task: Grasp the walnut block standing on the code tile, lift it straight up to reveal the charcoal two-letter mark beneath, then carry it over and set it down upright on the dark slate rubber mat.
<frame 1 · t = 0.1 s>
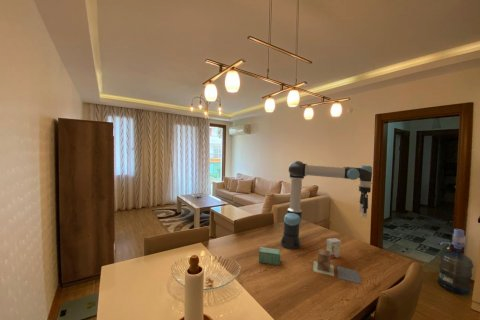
hand: (362, 214, 157), 28 cm above the table, fingers open, 13 cm apart
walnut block: (323, 268, 133), resting on code tile
box: (269, 261, 139), on the table
mat: (348, 275, 127), on the table
ink box: (332, 256, 149), on the table
code tile: (323, 268, 133), on the table
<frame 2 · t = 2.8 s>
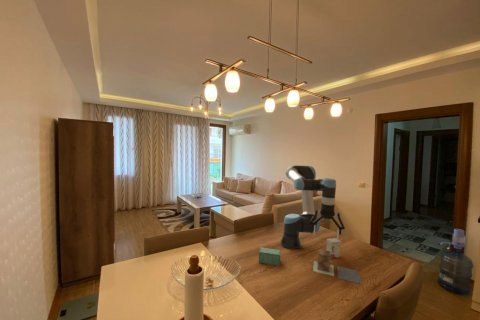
hand: (325, 237, 132), 20 cm above the table, fingers open, 13 cm apart
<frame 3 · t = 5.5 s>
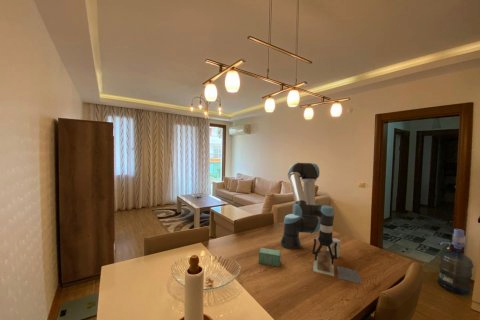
hand: (323, 266, 133), 1 cm above the table, fingers closed on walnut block, 7 cm apart
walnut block: (323, 267, 133), resting on code tile, touching gripper
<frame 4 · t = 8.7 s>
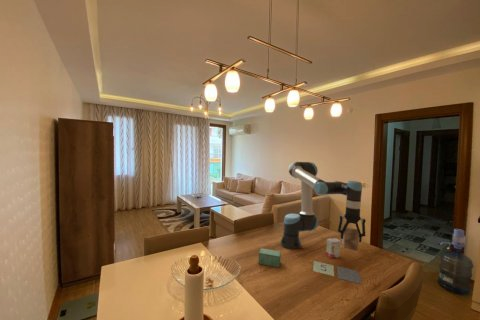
hand: (350, 245, 126), 18 cm above the table, fingers closed on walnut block, 7 cm apart
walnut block: (350, 246, 126), point 17 cm above the table, touching gripper
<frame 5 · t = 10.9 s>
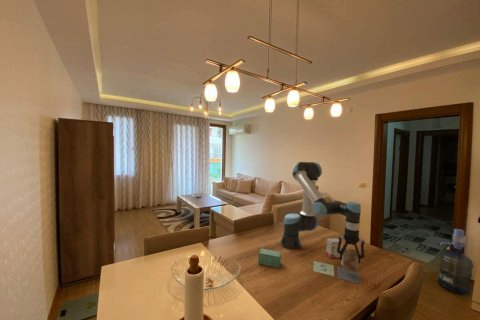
hand: (349, 266, 126), 6 cm above the table, fingers closed on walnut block, 7 cm apart
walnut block: (349, 267, 126), point 5 cm above the table, touching gripper
when the fingers open (3 cm above the table, at t = 12.4 s): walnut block drops 1 cm, resting on mat.
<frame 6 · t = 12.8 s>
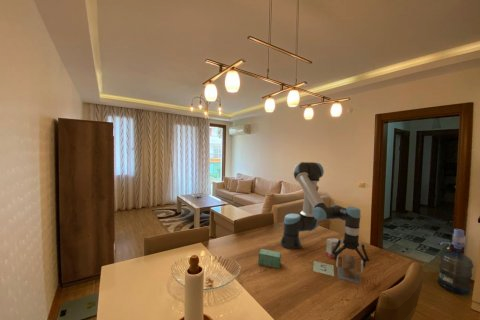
hand: (348, 268, 127), 4 cm above the table, fingers open, 12 cm apart
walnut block: (348, 274, 127), resting on mat
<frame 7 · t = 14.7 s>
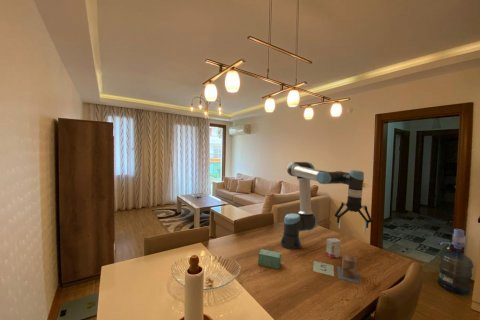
hand: (351, 230, 129), 26 cm above the table, fingers open, 13 cm apart
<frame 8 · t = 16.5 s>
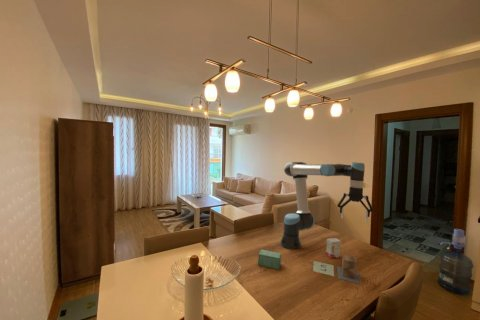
hand: (353, 220, 135), 31 cm above the table, fingers open, 13 cm apart
at the end: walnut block inside the target area on the mat (0.0 cm from its centre), point 0.4 cm above the mat's base; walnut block tilted 0°; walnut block moved 14.0 cm from its start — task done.
